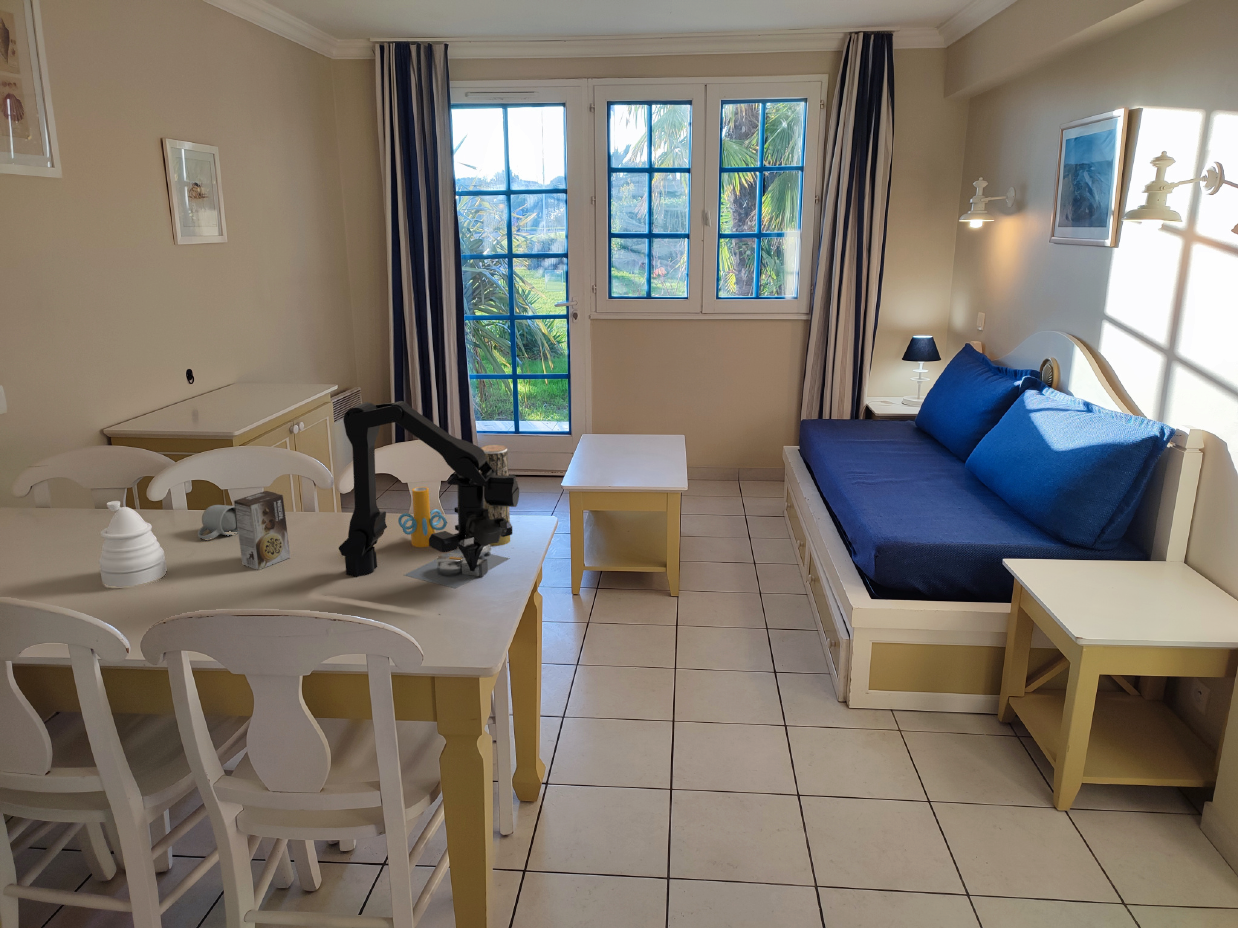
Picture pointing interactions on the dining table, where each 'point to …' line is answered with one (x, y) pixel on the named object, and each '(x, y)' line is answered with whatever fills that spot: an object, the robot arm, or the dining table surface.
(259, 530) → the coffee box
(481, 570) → the dial knob with block
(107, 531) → the honey pot
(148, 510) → the dining table surface
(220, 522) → the ceramic mug
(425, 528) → the cylinder
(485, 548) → the duct stub
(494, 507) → the bark covered log
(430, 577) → the mat
